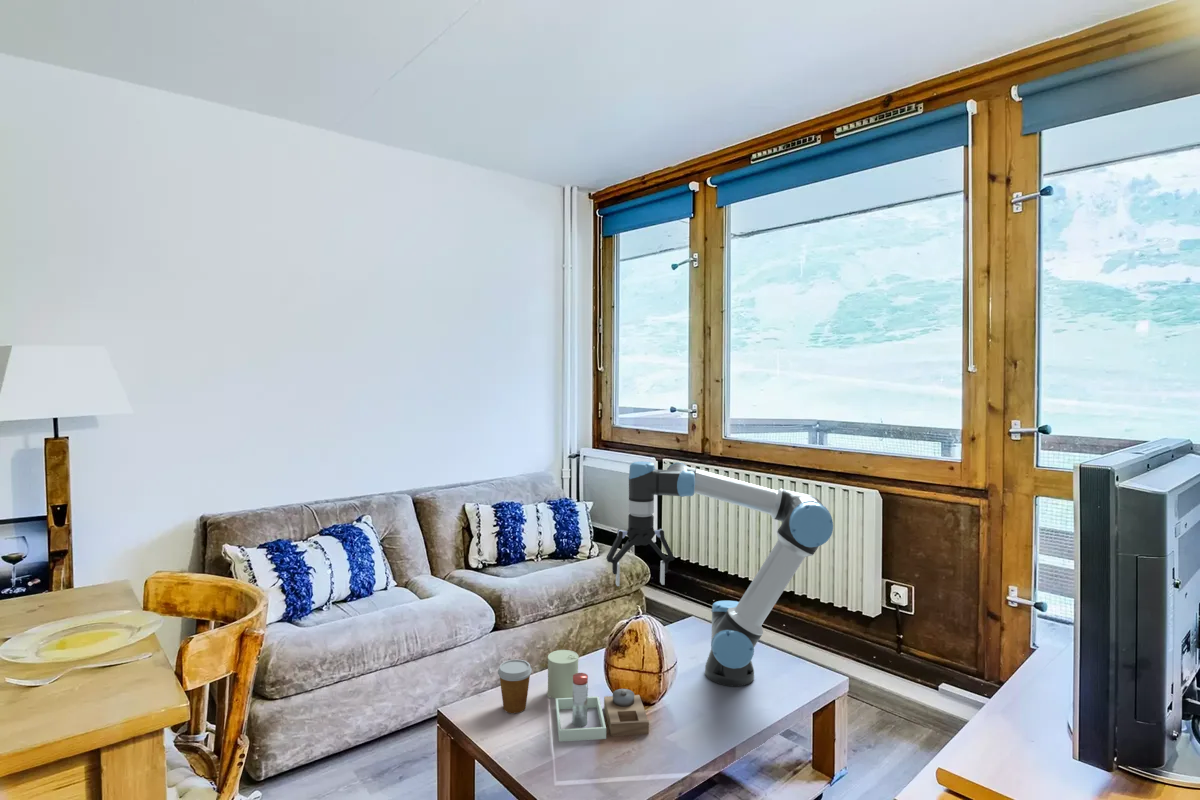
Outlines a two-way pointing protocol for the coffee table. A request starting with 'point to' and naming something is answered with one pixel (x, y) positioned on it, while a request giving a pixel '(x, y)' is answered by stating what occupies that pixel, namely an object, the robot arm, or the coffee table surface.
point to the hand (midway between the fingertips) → (640, 584)
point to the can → (561, 673)
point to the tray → (580, 732)
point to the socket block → (625, 713)
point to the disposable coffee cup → (514, 684)
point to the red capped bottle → (580, 699)
